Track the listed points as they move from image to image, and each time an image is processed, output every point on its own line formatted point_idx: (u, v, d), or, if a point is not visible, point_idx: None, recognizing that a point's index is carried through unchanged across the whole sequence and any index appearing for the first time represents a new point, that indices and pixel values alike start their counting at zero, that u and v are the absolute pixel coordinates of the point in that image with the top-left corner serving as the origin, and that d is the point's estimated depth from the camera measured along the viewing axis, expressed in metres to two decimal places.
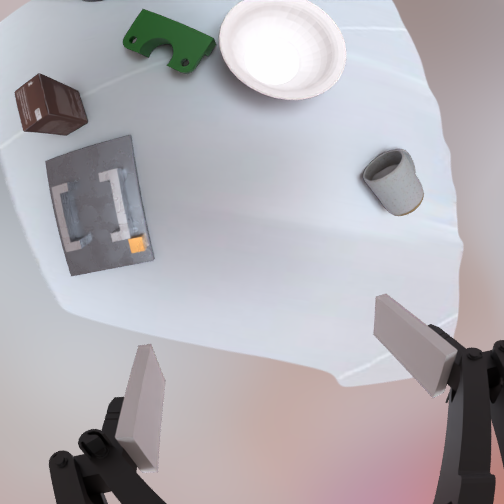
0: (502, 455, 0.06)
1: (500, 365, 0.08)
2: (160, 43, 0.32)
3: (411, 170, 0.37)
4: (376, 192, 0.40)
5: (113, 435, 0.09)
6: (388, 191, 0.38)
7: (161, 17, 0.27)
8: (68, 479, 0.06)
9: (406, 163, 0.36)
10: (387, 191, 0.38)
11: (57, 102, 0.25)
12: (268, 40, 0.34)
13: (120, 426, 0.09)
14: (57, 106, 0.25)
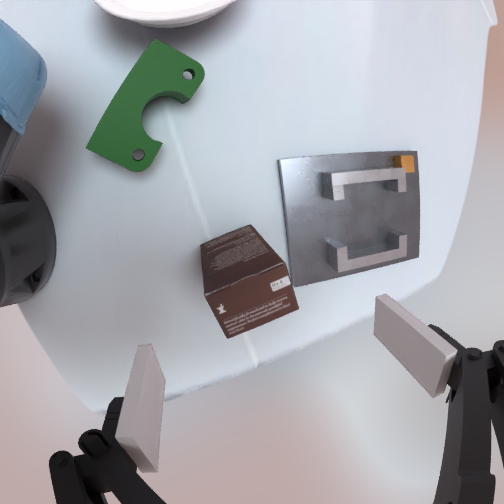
0: (502, 455, 0.06)
1: (500, 365, 0.08)
2: None
3: None
4: None
5: (113, 435, 0.09)
6: None
7: (106, 114, 0.20)
8: (68, 479, 0.06)
9: None
10: None
11: (249, 257, 0.23)
12: (146, 1, 0.21)
13: (120, 426, 0.09)
14: (257, 256, 0.22)
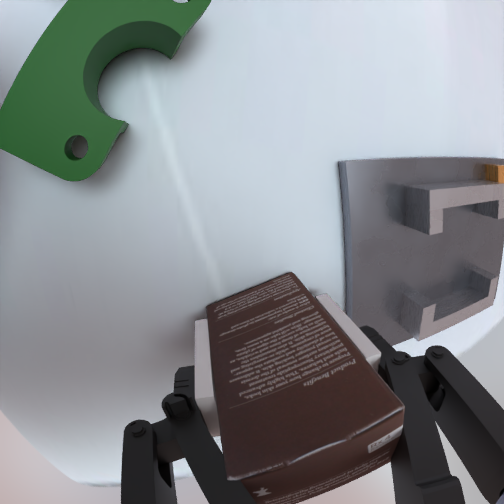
0: (462, 459, 0.07)
1: (438, 373, 0.09)
2: (95, 93, 0.12)
3: None
4: None
5: None
6: None
7: (22, 75, 0.08)
8: (141, 449, 0.08)
9: None
10: None
11: (314, 374, 0.10)
12: None
13: (198, 388, 0.11)
14: (333, 376, 0.10)
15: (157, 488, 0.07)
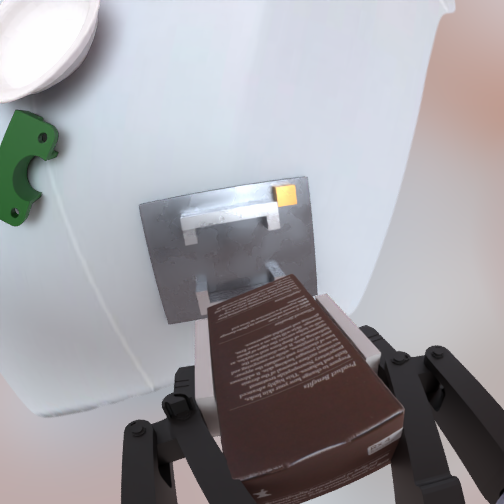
0: (462, 460, 0.07)
1: (438, 373, 0.09)
2: (24, 179, 0.25)
3: None
4: None
5: None
6: None
7: None
8: (142, 449, 0.08)
9: None
10: None
11: (315, 377, 0.10)
12: (33, 60, 0.21)
13: (198, 388, 0.11)
14: (333, 378, 0.10)
15: (157, 488, 0.07)
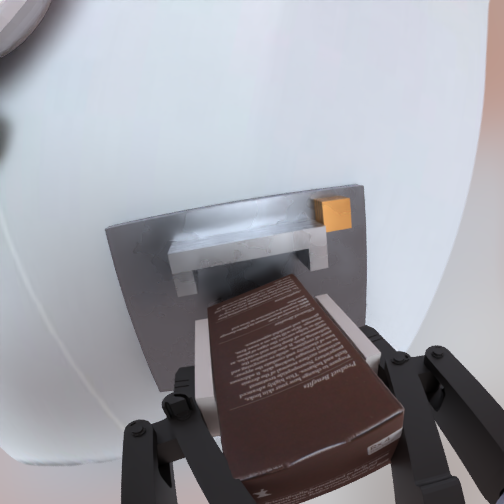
0: (462, 460, 0.07)
1: (438, 373, 0.09)
2: None
3: None
4: None
5: None
6: None
7: None
8: (142, 449, 0.08)
9: None
10: None
11: (315, 377, 0.10)
12: None
13: (198, 388, 0.11)
14: (333, 378, 0.10)
15: (157, 488, 0.07)
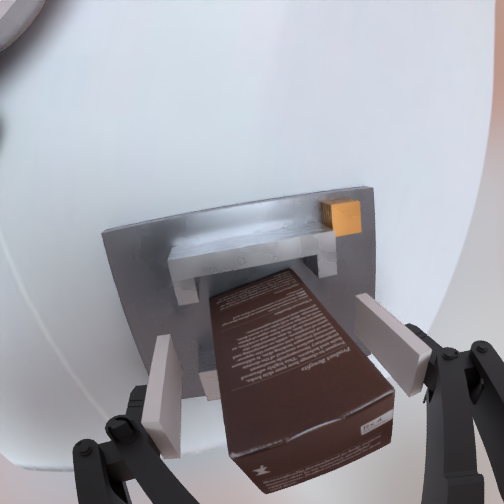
0: (489, 455, 0.06)
1: (480, 366, 0.09)
2: None
3: None
4: None
5: (137, 422, 0.10)
6: None
7: None
8: (91, 468, 0.07)
9: None
10: None
11: (311, 360, 0.11)
12: None
13: (145, 412, 0.10)
14: (329, 361, 0.10)
15: None
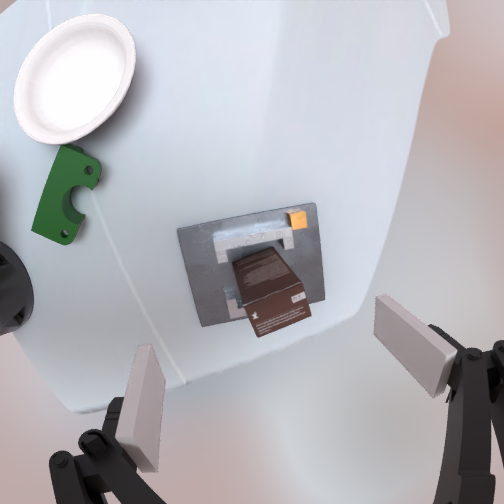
0: (502, 455, 0.06)
1: (500, 365, 0.08)
2: (69, 204, 0.33)
3: None
4: None
5: (113, 435, 0.09)
6: None
7: (39, 207, 0.28)
8: (68, 479, 0.06)
9: None
10: None
11: (274, 276, 0.30)
12: (69, 98, 0.29)
13: (120, 426, 0.09)
14: (281, 276, 0.30)
15: None
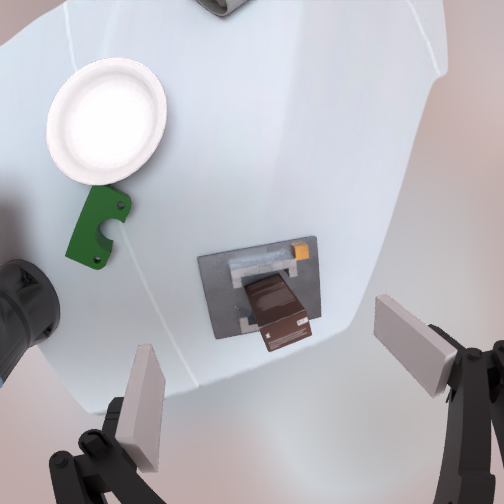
0: (502, 455, 0.06)
1: (500, 365, 0.08)
2: (98, 231, 0.38)
3: None
4: (239, 3, 0.30)
5: (113, 435, 0.09)
6: None
7: (73, 236, 0.34)
8: (68, 479, 0.06)
9: None
10: None
11: (283, 303, 0.37)
12: (96, 133, 0.35)
13: (120, 426, 0.09)
14: (288, 303, 0.36)
15: None
